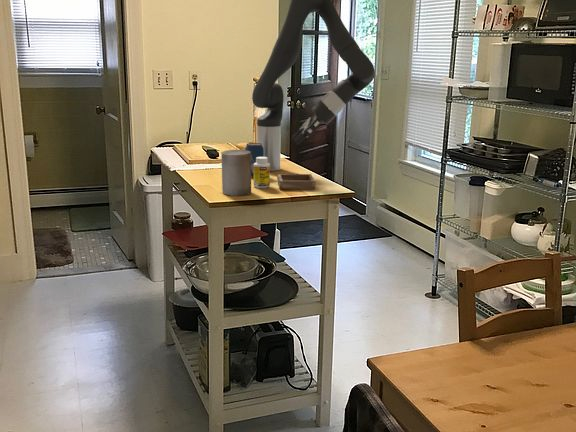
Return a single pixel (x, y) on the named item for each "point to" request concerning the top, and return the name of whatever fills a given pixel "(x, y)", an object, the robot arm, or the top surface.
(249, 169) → the pillar candle
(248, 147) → the soda can
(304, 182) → the caddy
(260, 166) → the supplement bottle
